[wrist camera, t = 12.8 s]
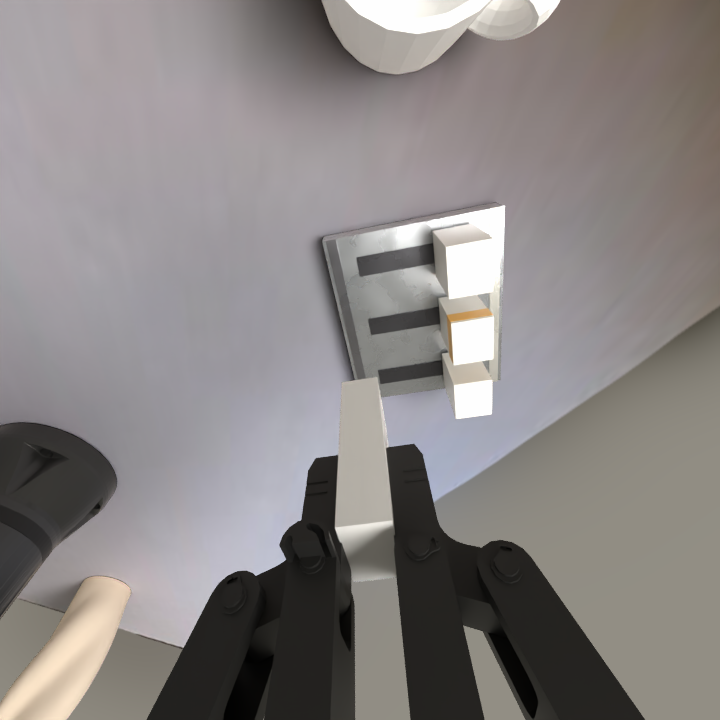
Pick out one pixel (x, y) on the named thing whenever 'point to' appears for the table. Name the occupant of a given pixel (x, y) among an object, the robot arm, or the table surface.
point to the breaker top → (464, 260)
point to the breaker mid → (467, 329)
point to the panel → (405, 297)
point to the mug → (426, 27)
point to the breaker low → (467, 388)
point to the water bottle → (69, 654)
